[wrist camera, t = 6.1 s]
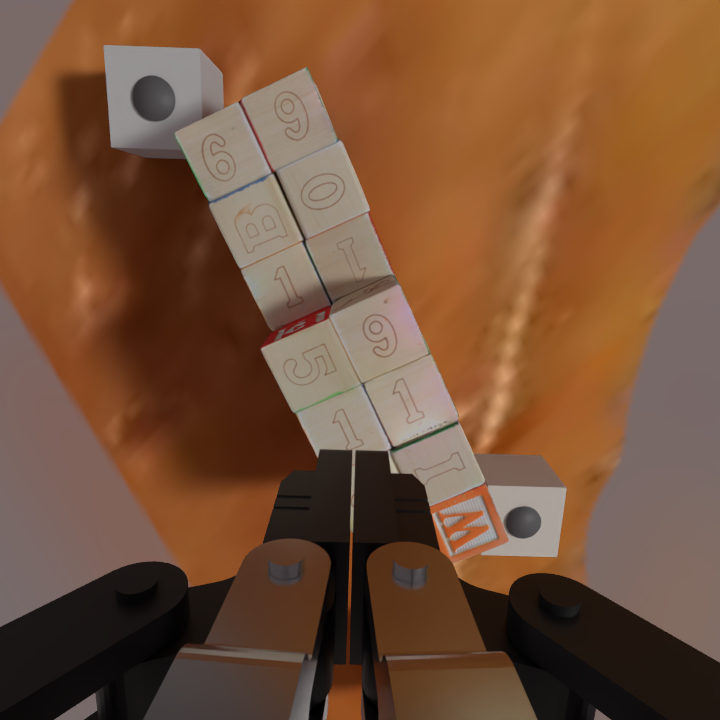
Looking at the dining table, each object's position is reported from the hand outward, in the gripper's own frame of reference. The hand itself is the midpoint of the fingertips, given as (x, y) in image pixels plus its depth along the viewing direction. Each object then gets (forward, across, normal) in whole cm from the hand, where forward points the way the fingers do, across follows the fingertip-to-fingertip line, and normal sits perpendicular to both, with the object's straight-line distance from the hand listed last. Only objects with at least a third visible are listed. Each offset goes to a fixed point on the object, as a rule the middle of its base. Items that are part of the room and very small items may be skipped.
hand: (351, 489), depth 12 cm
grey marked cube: (+22, +10, -11) cm, 27 cm away
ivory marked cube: (+22, -10, +11) cm, 27 cm away
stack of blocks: (+22, 0, 0) cm, 22 cm away
